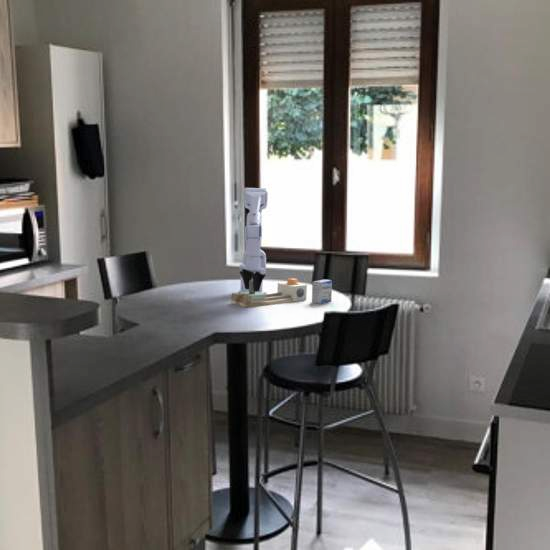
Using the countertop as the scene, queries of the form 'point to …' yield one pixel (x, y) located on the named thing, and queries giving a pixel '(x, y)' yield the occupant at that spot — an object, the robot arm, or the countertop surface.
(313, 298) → the medicine box
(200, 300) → the countertop surface
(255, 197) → the robot arm
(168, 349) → the countertop surface
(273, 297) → the rail track
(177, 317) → the countertop surface
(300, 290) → the end cabinet
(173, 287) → the countertop surface
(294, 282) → the button
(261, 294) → the carriage
